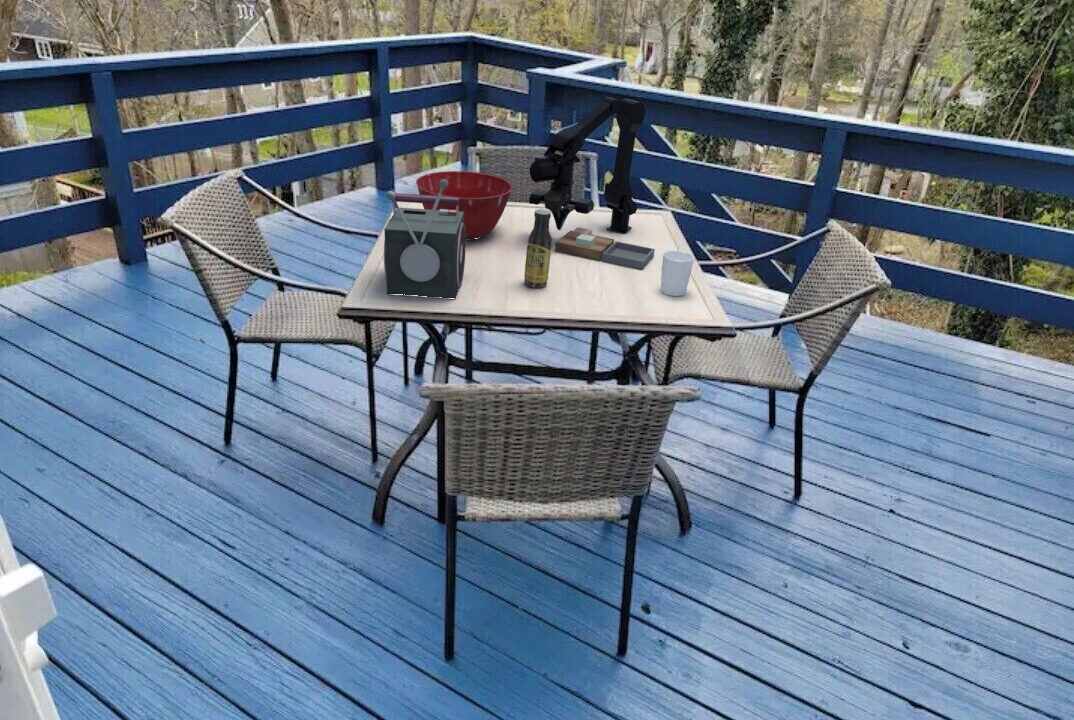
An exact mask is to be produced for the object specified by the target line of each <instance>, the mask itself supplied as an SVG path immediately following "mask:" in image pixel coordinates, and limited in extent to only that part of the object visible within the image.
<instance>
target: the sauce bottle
mask: <svg viewBox="0 0 1074 720" xmlns="http://www.w3.org/2000/svg"><path fill="white" fill-rule="evenodd" d="M551 218H552V212H551V211H550V210H549V209H541V208H539V209H536V210H535V211H534V225H533V229H532V230H531V232H530V233H529V237H528V240H527V245H526V254H525V255H526V257H525V264H524V284H525V286H528V287H530V288H535V289H540V288H544V287H546V286H547V283H548V280H549V274H550V273H549V272H550V263H551V254H552V243H553V242H552V241H553V237H552V235H551V231H550V230H549V229H550V219H551Z"/></svg>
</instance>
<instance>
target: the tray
mask: <svg viewBox="0 0 1074 720" xmlns="http://www.w3.org/2000/svg"><path fill="white" fill-rule="evenodd" d="M655 251H656V250H655V248H651V247H647V246H642V245H636V244H632V243H627V242H621V241H617V240H616V241H615V240H614V243H613V244H612V245H611V246H610V247H609V248H608V249H607V250H606V251H605V252H604V253H603V254H602V260H601V262H602V263H606V264H611V265H615V266H620V267H625V268H629V269H635V270H639V271H643V270H644V269H645V267H646V266H648V264H649V263H650V261H652V260H653V259H654V257H655Z"/></svg>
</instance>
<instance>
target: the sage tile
mask: <svg viewBox="0 0 1074 720" xmlns="http://www.w3.org/2000/svg"><path fill="white" fill-rule="evenodd" d="M596 236H597V235H595V236H591V235H586V234H581V235H579V236H578V237H577V238H576V245H580V246H585V247H591V246H593V245H594V244H595V242H596Z"/></svg>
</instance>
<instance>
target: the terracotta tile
mask: <svg viewBox="0 0 1074 720" xmlns="http://www.w3.org/2000/svg"><path fill="white" fill-rule="evenodd" d="M572 231H573V233H572V238H577V237H578V236H579V235H581V234H586V235H591V236H592V235H593V229H591V228H586V227H585V228H584V227H581V226H580V227H579V226H578V227H576V228H575V229H573V230H572Z"/></svg>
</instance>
